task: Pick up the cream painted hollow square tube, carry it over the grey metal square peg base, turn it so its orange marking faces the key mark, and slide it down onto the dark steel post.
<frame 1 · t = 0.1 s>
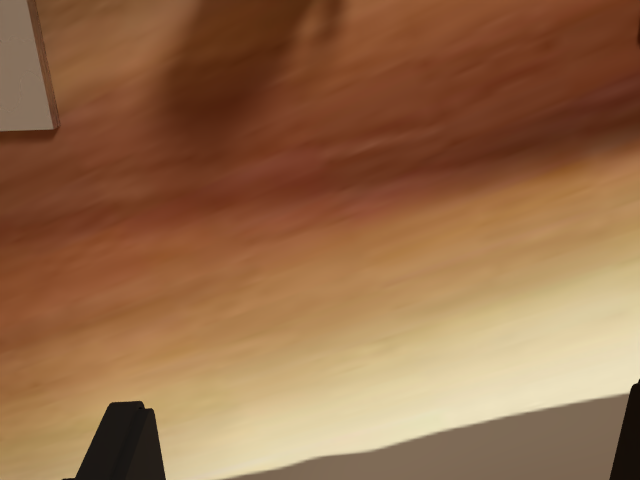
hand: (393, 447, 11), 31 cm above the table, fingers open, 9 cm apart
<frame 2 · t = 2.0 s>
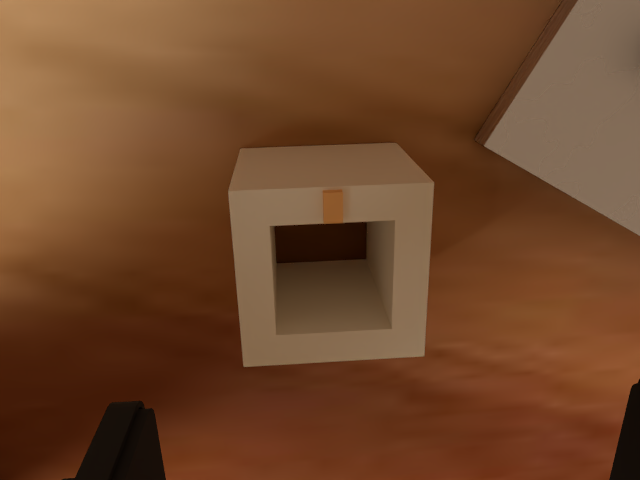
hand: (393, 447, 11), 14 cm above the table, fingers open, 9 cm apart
hollow square tube: (320, 218, 24), on the table
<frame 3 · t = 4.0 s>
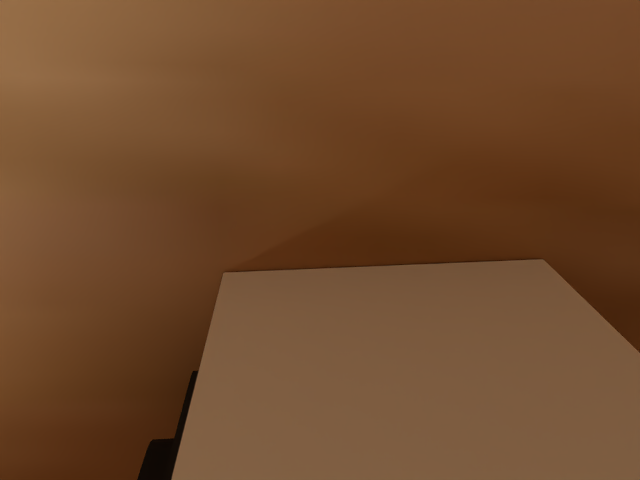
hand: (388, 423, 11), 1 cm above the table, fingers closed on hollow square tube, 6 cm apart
hollow square tube: (381, 396, 12), on the table, touching gripper
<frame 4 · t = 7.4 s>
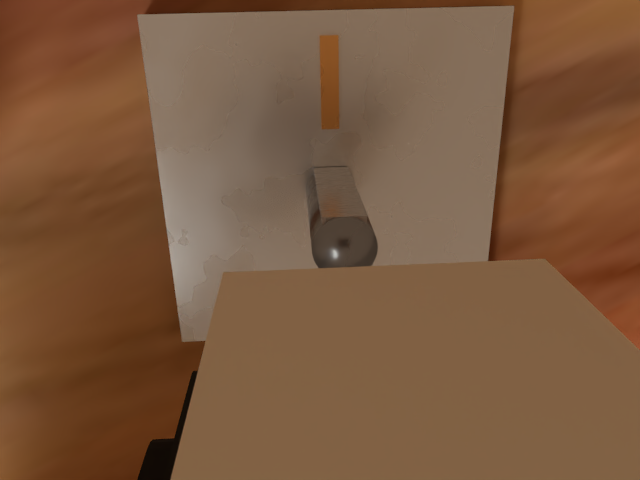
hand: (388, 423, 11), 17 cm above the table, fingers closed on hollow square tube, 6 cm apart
hollow square tube: (382, 397, 12), point 17 cm above the table, touching gripper
square peg base: (329, 183, 28), on the table
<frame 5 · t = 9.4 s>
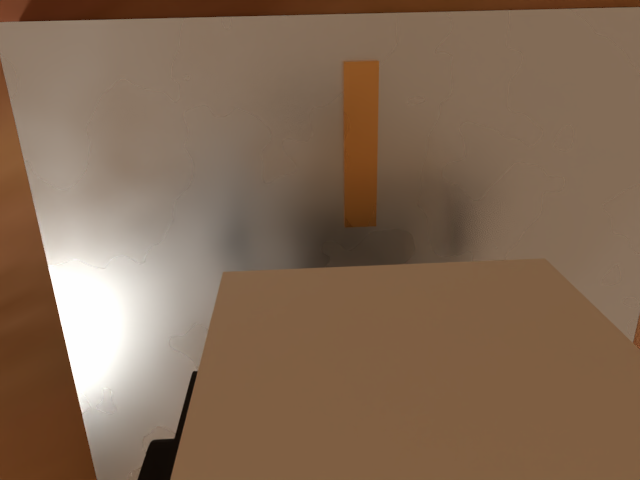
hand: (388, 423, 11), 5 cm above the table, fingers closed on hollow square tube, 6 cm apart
hollow square tube: (382, 396, 12), point 5 cm above the table, touching gripper
square peg base: (354, 304, 16), on the table
when the fingers open (3 cm above the table, at t = 10.8 s): hollow square tube stays where it is, resting on square peg base.
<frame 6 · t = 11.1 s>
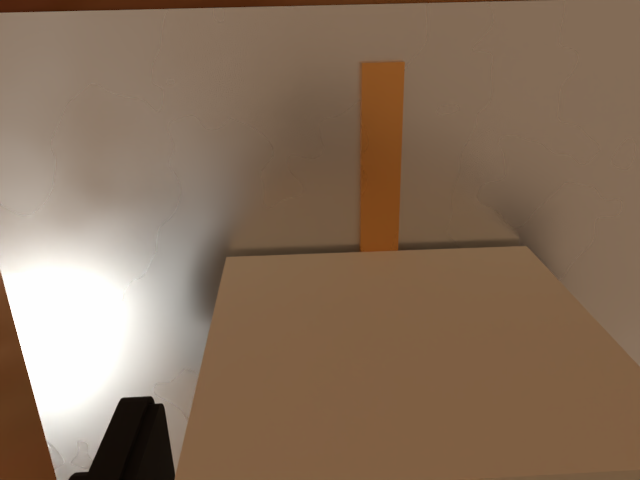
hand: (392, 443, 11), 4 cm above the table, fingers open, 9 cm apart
hollow square tube: (374, 373, 13), point 1 cm above the table, touching square peg base
square peg base: (368, 342, 14), on the table
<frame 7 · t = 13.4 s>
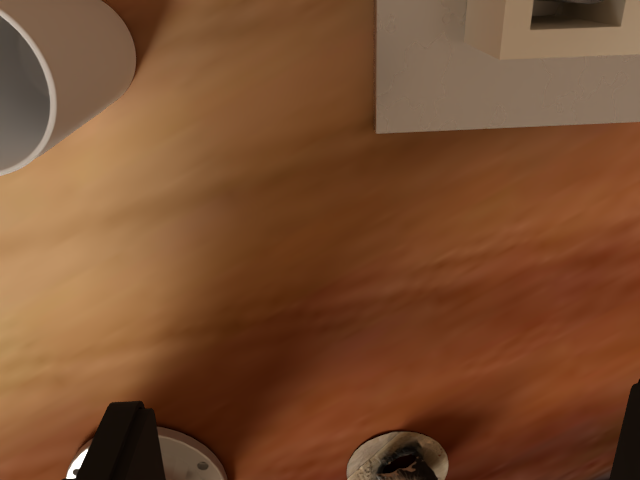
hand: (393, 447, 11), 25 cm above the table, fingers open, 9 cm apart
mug: (52, 53, 31), on the table
figurine: (396, 466, 45), on the table
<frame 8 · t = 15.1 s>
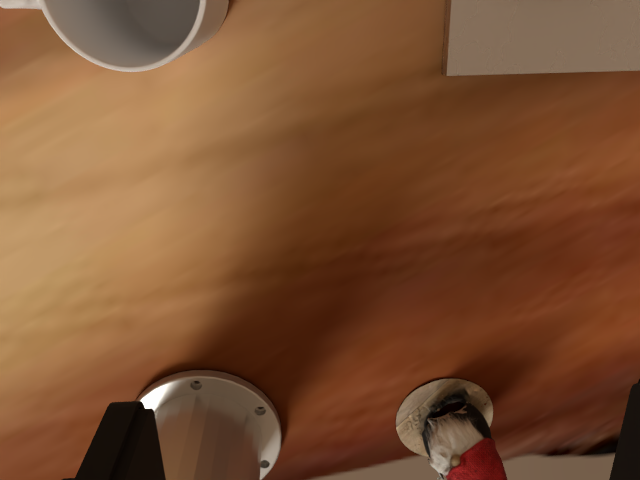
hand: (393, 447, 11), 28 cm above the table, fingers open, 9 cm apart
figurine: (443, 415, 47), on the table
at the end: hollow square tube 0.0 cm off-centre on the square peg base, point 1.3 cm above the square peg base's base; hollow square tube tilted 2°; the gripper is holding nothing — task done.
